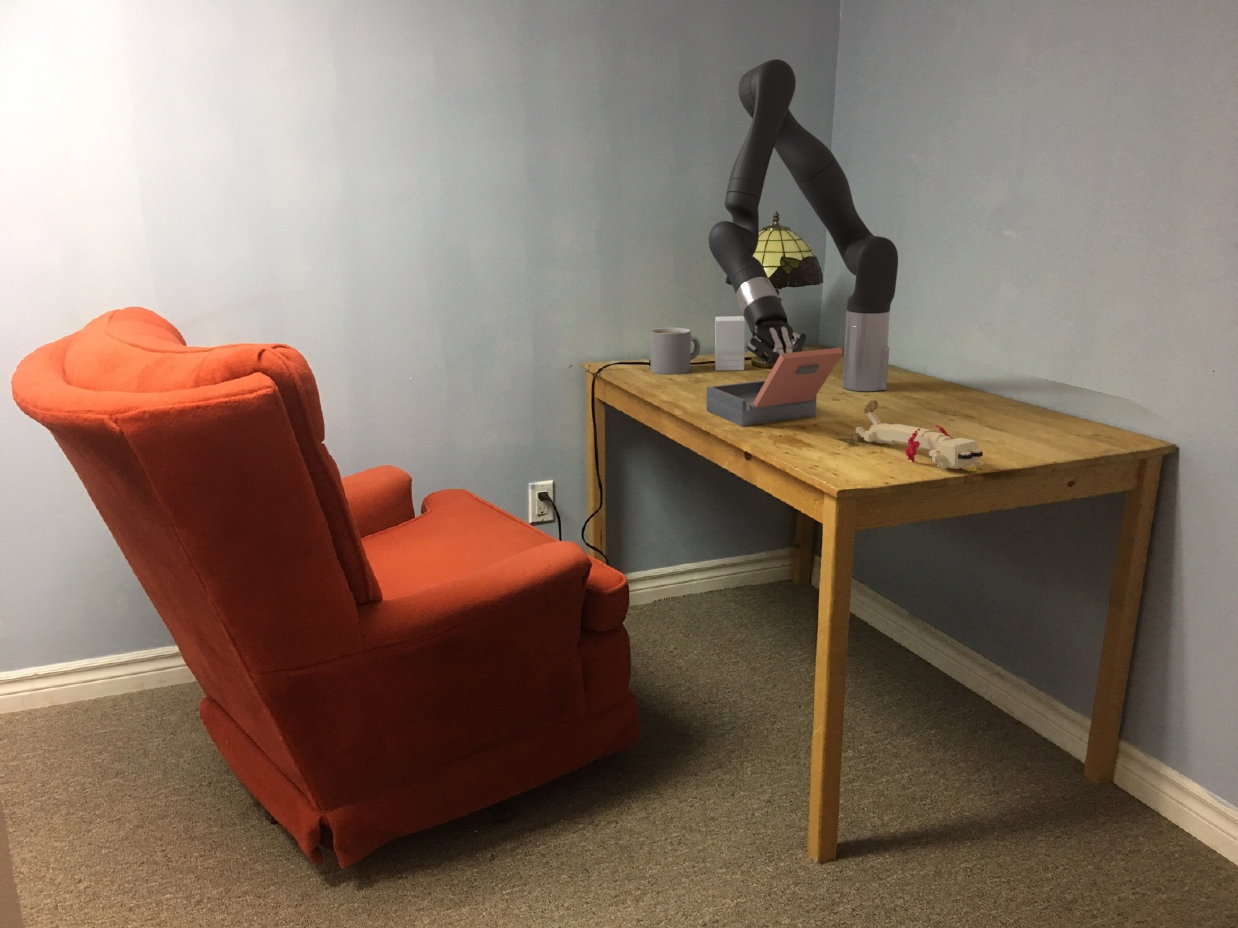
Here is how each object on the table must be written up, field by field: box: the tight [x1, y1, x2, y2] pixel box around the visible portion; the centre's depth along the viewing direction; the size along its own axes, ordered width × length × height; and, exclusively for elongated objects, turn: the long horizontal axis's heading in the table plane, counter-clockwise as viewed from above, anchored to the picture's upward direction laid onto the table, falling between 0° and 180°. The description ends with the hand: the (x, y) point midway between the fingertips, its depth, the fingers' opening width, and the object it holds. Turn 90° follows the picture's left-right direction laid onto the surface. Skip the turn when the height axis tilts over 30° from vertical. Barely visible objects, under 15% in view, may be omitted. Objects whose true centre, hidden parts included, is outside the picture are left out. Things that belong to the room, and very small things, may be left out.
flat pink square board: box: [750, 347, 844, 410], centre depth 172 cm, size 2×14×15 cm
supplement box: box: [714, 315, 746, 371], centre depth 229 cm, size 7×7×13 cm
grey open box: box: [706, 379, 818, 427], centre depth 185 cm, size 14×17×5 cm
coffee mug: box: [649, 327, 701, 376], centre depth 228 cm, size 13×10×10 cm
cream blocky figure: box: [852, 399, 984, 472], centre depth 155 cm, size 10×9×25 cm
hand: (793, 379), depth 173 cm, fingers closed
